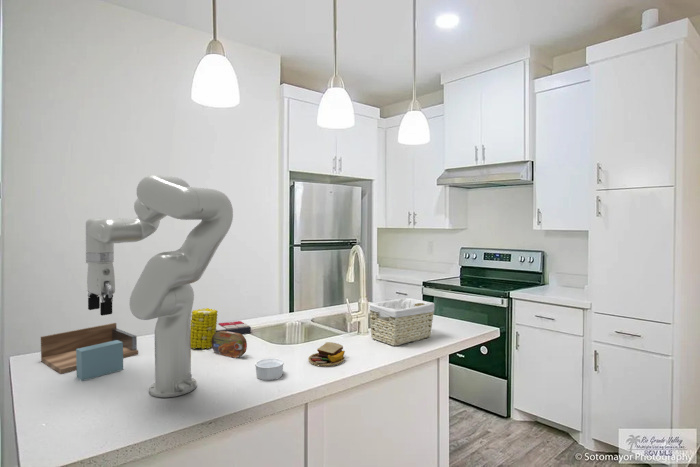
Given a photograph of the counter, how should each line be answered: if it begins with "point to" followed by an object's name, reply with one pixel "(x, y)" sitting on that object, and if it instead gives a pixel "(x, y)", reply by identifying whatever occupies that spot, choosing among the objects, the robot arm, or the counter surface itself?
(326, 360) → the toy sandwich meal
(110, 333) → the shelf
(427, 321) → the storage basket
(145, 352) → the counter surface
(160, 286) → the robot arm
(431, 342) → the counter surface
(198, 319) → the food
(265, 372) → the ramekin
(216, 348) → the tin
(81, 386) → the counter surface
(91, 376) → the book
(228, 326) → the red white box
